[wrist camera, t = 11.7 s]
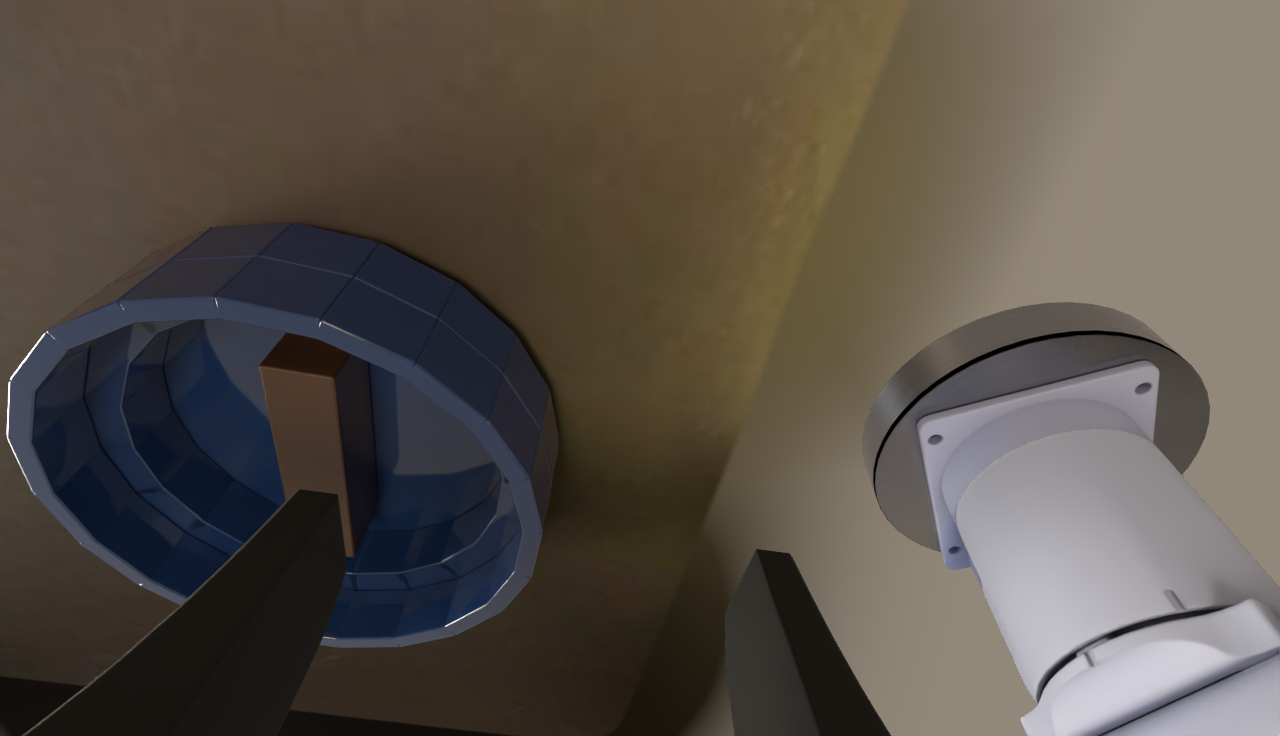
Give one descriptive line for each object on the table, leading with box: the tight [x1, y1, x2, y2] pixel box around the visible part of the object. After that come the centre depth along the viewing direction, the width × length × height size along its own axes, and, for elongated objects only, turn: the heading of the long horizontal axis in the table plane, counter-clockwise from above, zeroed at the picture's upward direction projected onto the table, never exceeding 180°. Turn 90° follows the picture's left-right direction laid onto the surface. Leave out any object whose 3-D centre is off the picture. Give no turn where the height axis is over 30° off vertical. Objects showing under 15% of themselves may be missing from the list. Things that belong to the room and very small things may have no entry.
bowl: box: [7, 223, 560, 648], centre depth 20 cm, size 14×14×4 cm
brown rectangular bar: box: [259, 332, 378, 557], centre depth 21 cm, size 8×2×2 cm, turn 169°
